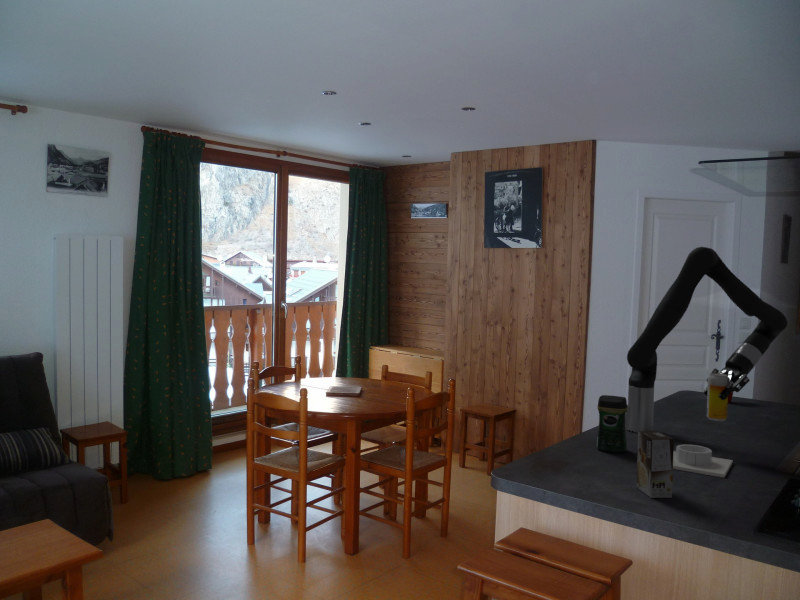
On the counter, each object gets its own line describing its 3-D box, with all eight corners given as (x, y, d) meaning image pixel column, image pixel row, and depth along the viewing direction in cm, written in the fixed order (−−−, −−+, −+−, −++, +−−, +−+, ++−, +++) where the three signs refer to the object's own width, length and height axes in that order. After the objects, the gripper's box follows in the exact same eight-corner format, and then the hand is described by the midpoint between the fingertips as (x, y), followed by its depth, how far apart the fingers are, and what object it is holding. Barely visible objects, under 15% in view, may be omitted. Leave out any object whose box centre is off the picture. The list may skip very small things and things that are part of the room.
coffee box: (673, 498, 171) (675, 438, 171) (650, 498, 171) (652, 439, 170) (656, 486, 181) (658, 430, 180) (635, 487, 180) (636, 430, 179)
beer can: (729, 422, 208) (731, 376, 208) (709, 421, 210) (711, 375, 209) (723, 417, 214) (725, 373, 214) (704, 416, 215) (705, 372, 215)
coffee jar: (628, 449, 219) (629, 395, 218) (624, 454, 212) (625, 399, 211) (599, 445, 224) (600, 392, 223) (594, 450, 217) (595, 396, 216)
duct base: (653, 465, 200) (654, 449, 200) (666, 452, 215) (666, 437, 215) (724, 477, 189) (724, 461, 189) (732, 463, 204) (733, 447, 204)
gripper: (721, 349, 220) (691, 384, 217) (755, 355, 206) (723, 393, 203) (732, 364, 222) (703, 399, 219) (767, 370, 208) (736, 408, 205)
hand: (713, 396), depth 211 cm, fingers closed on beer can, 6 cm apart
